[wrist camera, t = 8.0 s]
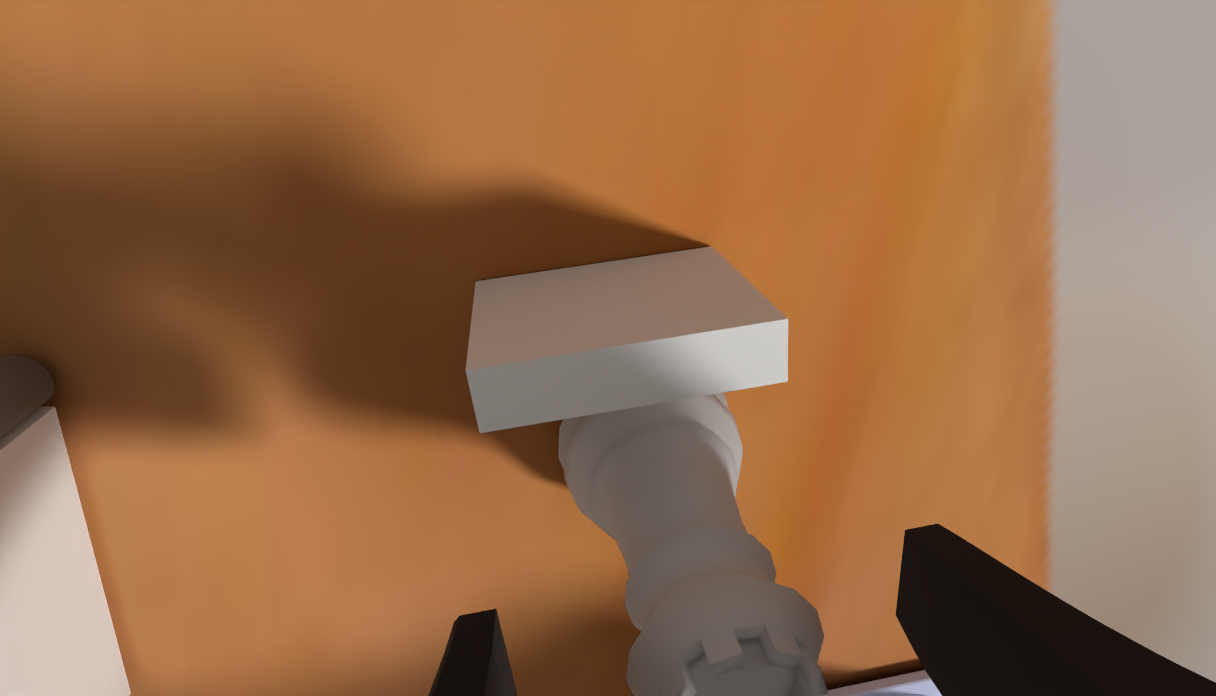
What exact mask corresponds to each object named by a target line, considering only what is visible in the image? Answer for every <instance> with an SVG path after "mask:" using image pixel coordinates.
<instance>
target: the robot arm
mask: <svg viewBox="0 0 1216 696" xmlns="http://www.w3.org/2000/svg"><path fill="white" fill-rule="evenodd" d="M896 616H897V618H898V620H899V622H900V624H901V626H902V628H903V630H904V632H905V634H906V636H907V638H908V640H909V642H910V643H911V645H912V647H913V649H914V651H915V653H916V655H917V656H918V658H919V660H920V662H921V664H922V665H923V667H924V669H925V670H922V671H917V672H912V673H907V674H903V675H898V676H893V677H888V678H884V679H879V680H874V681H869V682H865V683H860V684H855V685H850V686H846V687H841V688H836V689H831V690H827V692H828V694H825V695H821V696H1216V683H1215V682H1213V681H1211V680H1209V679H1207V678H1205V677H1203V676H1201V675H1199V674H1196V673H1195V672H1192V671H1190V670H1188V669H1186V668H1184V667H1182V666H1180V665H1178V664H1176V663H1174V662H1172V661H1170V660H1168V659H1167V658H1165V657H1163V656H1161V655H1159V654H1157V653H1155V652H1153V651H1151V650H1149V649H1147V648H1146V647H1144V646H1142V645H1140V644H1138V643H1136V642H1134V641H1133V640H1131V639H1129V638H1127V637H1125V636H1124V635H1122V634H1120V633H1118V632H1116V631H1115V630H1113V629H1111V628H1109V627H1107V626H1105V625H1104V624H1102V623H1100V622H1098V621H1097V620H1095V619H1093V618H1091V617H1090V616H1088V615H1086V614H1085V613H1083V612H1081V611H1079V610H1078V609H1076V608H1074V607H1073V606H1071V605H1069V604H1068V603H1066V602H1064V601H1063V600H1061V599H1059V598H1058V597H1056V596H1054V595H1053V594H1051V593H1049V592H1048V591H1046V590H1044V589H1043V588H1041V587H1039V586H1038V585H1036V584H1035V583H1033V582H1031V581H1030V580H1028V579H1026V578H1025V577H1023V576H1022V575H1020V574H1018V573H1017V572H1015V571H1014V570H1012V569H1010V568H1009V567H1007V566H1006V565H1004V564H1002V563H1001V562H999V561H998V560H996V559H994V558H993V557H991V556H990V555H988V554H986V553H985V552H983V551H982V550H980V549H978V548H977V547H975V546H974V545H972V544H970V543H969V542H967V541H966V540H964V539H962V538H961V537H959V536H958V535H956V534H954V533H953V532H951V531H949V530H948V529H946V528H944V527H943V526H941V525H939V524H934V525H928V526H923V527H918V528H913V529H908V530H905V536H904V545H903V554H902V563H901V572H900V581H899V590H898V599H897V608H896ZM428 696H517V692H516V688H515V684H514V680H513V676H512V672H511V667H510V663H509V659H508V655H507V651H506V647H505V643H504V639H503V635H502V631H501V627H500V623H499V618H498V614H497V610H496V609H492V610H487V611H482V612H477V613H472V614H466V615H461V616H459V617H458V618H457V619H456V621H455V622H454V624H453V628H452V631H451V634H450V638H449V641H448V644H447V647H446V650H445V653H444V656H443V658H442V661H441V664H440V667H439V669H438V672H437V675H436V677H435V680H434V683H433V685H432V688H431V690H430V693H429V695H428Z"/></svg>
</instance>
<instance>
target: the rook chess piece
mask: <svg viewBox="0 0 1216 696" xmlns="http://www.w3.org/2000/svg"><path fill="white" fill-rule="evenodd" d="M742 454H743V450H742V442H741V439H740V435H739V432H738V429H737V425H736V422H735V418H734V415H733V414H732V413H731V412H730V411H729V408H728V405H727V401H726V398H725V395H724V394H723V393H717V394H711V395H705V396H699V397H693V398H687V399H681V400H675V401H669V402H663V403H657V404H652V405H646V406H640V407H634V408H628V409H622V410H616V411H610V412H604V413H598V414H592V415H586V416H580V417H574V418H568V419H563V421H562V423H561V425H560V427H559V452H558V458H559V460H560V463H561V465H562V467H563V469H564V479H565V481H566V483H567V485H568V488H569V490H570V492H571V494H572V496H573V498H574V501H575V503H576V505H577V506H578V508H579V509H580V511H581V512H582V513H583V514H584V515H586V516H587V517H588V518H589V519H590V520H592V521H593V522H594V523H595V524H597V525H598V526H599V527H600V528H601V529H602V530H604V531H605V532H606V533H607V534H608V535H610V536H611V537H612V538H613V539H615V540H616V542H617V544H618V546H619V548H620V551H621V553H622V555H623V557H624V560H625V562H626V565H627V569H628V573H629V579H628V580H627V584H626V594H625V608H626V610H627V612H628V614H629V616H630V619H631V621H632V623H633V625H634V626H635V627H636V628H637V629H639V630H640V631H641V632H640V634H639V636H638V637H637V639H636V641H635V642H634V644H633V645H632V647H631V649H630V650H629V657H628V667H627V677H626V681H627V683H628V685H629V687H630V689H631V691H632V693H633V695H634V696H821V695H825V694H828V692H827V688H826V685H825V681H824V678H823V674H822V672H821V670H820V668H819V666H818V664H817V661H818V658H819V654H820V650H821V646H822V642H823V639H824V634H823V630H822V627H821V623H820V620H819V616H818V612H817V609H815V608H814V607H813V606H812V605H811V604H810V603H809V602H808V601H807V600H806V599H805V598H804V597H802V596H801V595H800V594H799V593H798V592H797V591H796V590H795V589H792V588H789V587H786V586H782V585H779V584H776V583H774V582H775V577H776V570H775V567H774V564H773V561H772V557H771V554H770V551H769V550H768V549H766V548H765V547H764V546H763V545H762V544H761V543H760V542H759V541H758V540H757V539H756V538H755V537H754V536H753V535H750V534H748V533H747V531H746V529H745V527H744V525H743V523H742V520H741V516H740V513H739V509H738V506H737V503H736V499H735V495H736V489H737V483H738V478H739V472H740V466H741V460H742Z"/></svg>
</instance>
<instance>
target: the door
mask: <svg viewBox="0 0 1216 696" xmlns="http://www.w3.org/2000/svg"><path fill="white" fill-rule="evenodd" d="M53 393H54V381H53V378H52V376H51V374H50V373H49V372H48V370H47V369H46V368H45V367H44V366H42V365H41V364H40V363H38V362H36V361H35V360H33V359H30V358H28V357H24V356H19V355H8V356H3V357H0V696H129V695H130V694H131V692H130V688H129V684H128V680H127V677H126V673H125V669H124V665H123V661H122V658H121V654H120V650H119V646H118V643H117V639H116V635H115V631H114V627H113V624H112V620H111V616H110V612H109V609H108V605H107V601H106V597H105V593H104V590H103V586H102V582H101V578H100V574H99V571H98V567H97V563H96V559H95V556H94V552H93V548H92V544H91V540H90V537H89V533H88V529H87V525H86V522H85V518H84V514H83V510H82V506H81V503H80V499H79V495H78V491H77V488H76V484H75V480H74V476H73V472H72V469H71V465H70V461H69V457H68V454H67V450H66V446H65V442H64V438H63V435H62V431H61V427H60V423H59V419H58V416H57V412H56V408H55V407H44V406H41V405H43V404H44V403H45V402H47V401H48V400H49V399H50V398H51V397H52V395H53Z"/></svg>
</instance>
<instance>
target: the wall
mask: <svg viewBox="0 0 1216 696" xmlns="http://www.w3.org/2000/svg"><path fill="white" fill-rule="evenodd" d="M466 375H467V379H468V384H469V388H470V393H471V397H472V402H473V406H474V411H475V415H476V420H477V424H478V429H479V433H485V432H491V431H497V430H503V429H509V428H515V427H521V426H527V425H533V424H539V423H545V422H550V421H556V420H562V419H568V418H574V417H580V416H586V415H592V414H598V413H604V412H610V411H616V410H622V409H628V408H634V407H640V406H646V405H652V404H657V403H663V402H669V401H675V400H681V399H687V398H693V397H699V396H705V395H711V394H717V393H723V392H729V391H735V390H741V389H747V388H753V387H759V386H764V385H770V384H776V383H782V382H788V318H787V317H786V316H785V315H784V314H783V313H781V312H780V311H779V310H778V309H777V308H776V307H775V306H774V305H773V304H772V303H771V302H770V301H769V300H768V299H767V298H766V297H765V296H764V295H763V294H761V293H760V292H759V291H758V290H757V289H756V288H755V287H754V286H753V285H752V284H751V283H750V282H749V281H748V280H747V279H746V278H745V277H744V276H743V275H741V274H740V273H739V272H738V271H737V270H736V269H735V268H734V267H733V266H732V265H731V264H730V263H729V262H728V261H727V260H726V259H725V258H724V257H723V256H721V255H720V254H719V253H718V252H717V251H716V250H715V249H714V248H713V247H712V246H710V247H704V248H697V249H690V250H684V251H677V252H670V253H663V254H657V255H650V256H643V257H636V258H630V259H623V260H616V261H609V262H603V263H596V264H589V265H583V266H576V267H569V268H562V269H556V270H549V271H542V272H535V273H529V274H522V275H515V276H508V277H502V278H495V279H488V280H482V281H476V283H475V291H474V300H473V309H472V318H471V326H470V335H469V344H468V353H467V362H466Z"/></svg>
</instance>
